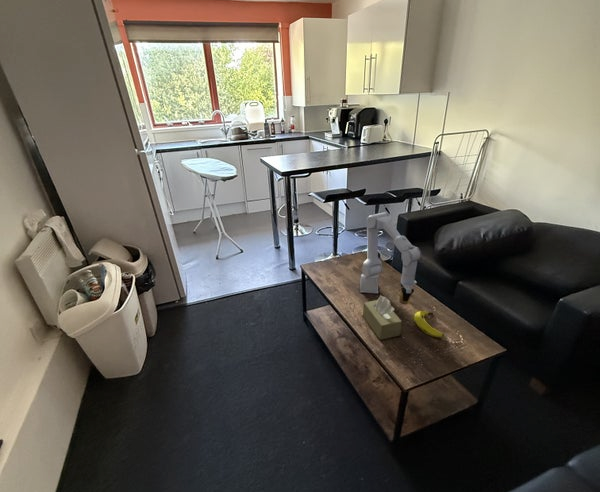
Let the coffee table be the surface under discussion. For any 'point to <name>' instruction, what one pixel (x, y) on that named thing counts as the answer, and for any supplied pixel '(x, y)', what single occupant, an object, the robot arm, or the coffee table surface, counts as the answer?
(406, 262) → the robot arm
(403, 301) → the pepper mill
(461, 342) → the coffee table surface
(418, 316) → the banana
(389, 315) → the tissue dispenser
